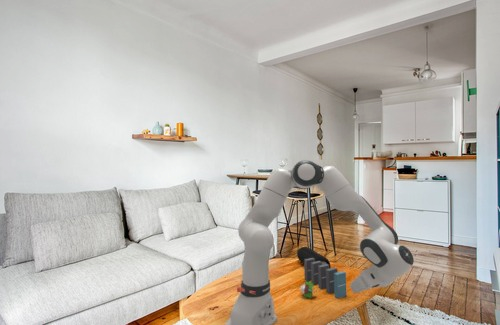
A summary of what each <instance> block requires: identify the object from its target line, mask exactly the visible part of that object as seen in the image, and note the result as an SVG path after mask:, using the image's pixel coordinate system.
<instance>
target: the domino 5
mask: <svg viewBox="0 0 500 325" xmlns="http://www.w3.org/2000/svg"><path fill="white" fill-rule="evenodd" d="M333 293H334V298H336V299H341V298H344V297H346V296H347V272H346V271H344V270H342V271H339V272H338V271H337V273H334V292H333Z"/></svg>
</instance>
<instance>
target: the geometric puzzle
mask: <svg viewBox="0 0 500 325" xmlns="http://www.w3.org/2000/svg"><path fill="white" fill-rule="evenodd" d="M313 284H314V283H311V281H306V280H304V284H301V286H300V287H299V289H300V291H301V292H302V293H303V294H302V296H303V297H305V298H309V299H312V298H313V297H314V295H315V294H314V293H317V292H318V291H317V289H316V288H315V287H314V285H313ZM313 294H314V295H313Z"/></svg>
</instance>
